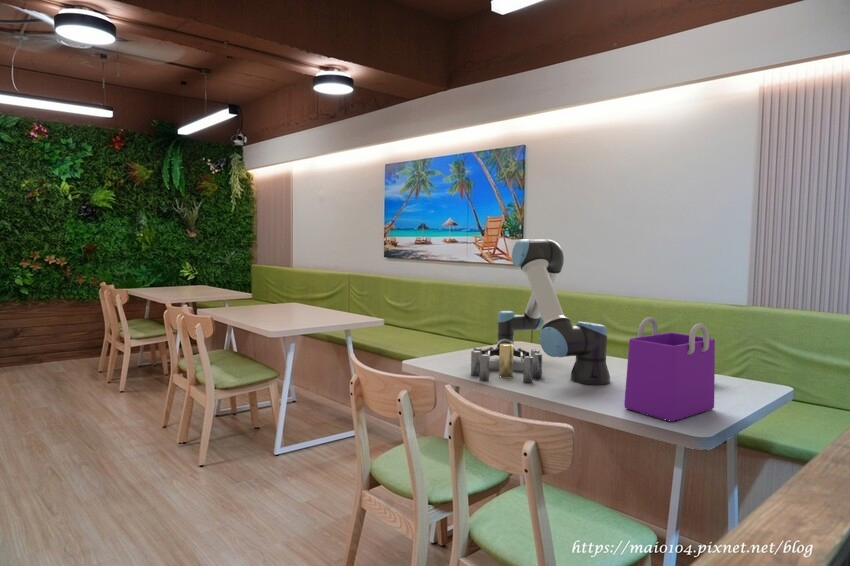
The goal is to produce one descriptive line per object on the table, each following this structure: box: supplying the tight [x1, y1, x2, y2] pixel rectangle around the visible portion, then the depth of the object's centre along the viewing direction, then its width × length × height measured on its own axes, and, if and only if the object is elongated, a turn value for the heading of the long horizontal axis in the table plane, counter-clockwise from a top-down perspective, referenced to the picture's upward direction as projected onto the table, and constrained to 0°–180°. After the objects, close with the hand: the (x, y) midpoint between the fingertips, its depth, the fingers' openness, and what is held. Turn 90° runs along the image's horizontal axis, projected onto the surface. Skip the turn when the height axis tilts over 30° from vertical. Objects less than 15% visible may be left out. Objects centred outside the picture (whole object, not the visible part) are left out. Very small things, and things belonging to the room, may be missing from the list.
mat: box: [489, 360, 524, 373], centre depth 239 cm, size 16×16×1 cm
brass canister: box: [498, 344, 515, 378], centre depth 223 cm, size 6×6×13 cm
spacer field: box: [470, 346, 543, 384], centre depth 222 cm, size 29×18×10 cm, turn 82°
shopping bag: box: [623, 316, 716, 422], centre depth 179 cm, size 28×22×30 cm
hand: (505, 357), depth 225 cm, fingers open, 13 cm apart
